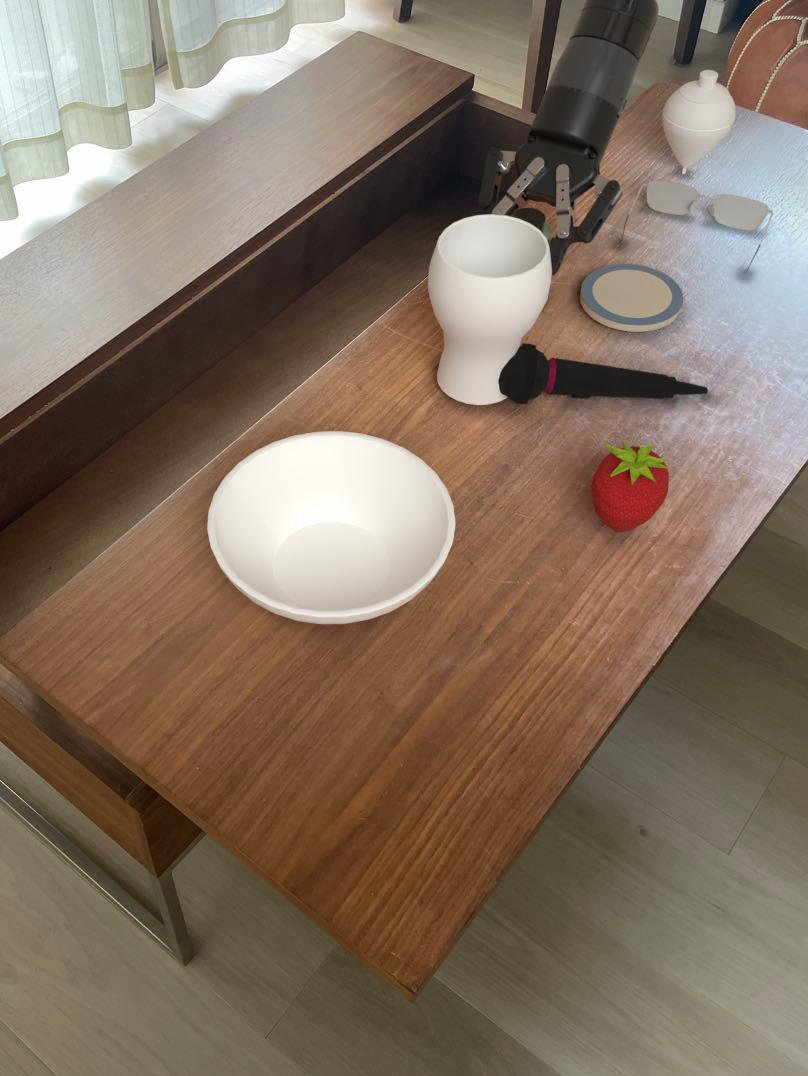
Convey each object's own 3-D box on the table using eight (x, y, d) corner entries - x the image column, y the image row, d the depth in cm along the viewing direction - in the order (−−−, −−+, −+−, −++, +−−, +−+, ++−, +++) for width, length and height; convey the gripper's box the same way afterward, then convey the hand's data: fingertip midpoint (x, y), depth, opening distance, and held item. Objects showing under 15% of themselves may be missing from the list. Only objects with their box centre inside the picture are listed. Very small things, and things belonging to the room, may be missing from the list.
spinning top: (666, 196, 124) (691, 95, 115) (638, 161, 129) (660, 62, 120) (730, 185, 125) (760, 84, 115) (699, 151, 130) (726, 51, 120)
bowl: (387, 706, 83) (390, 655, 78) (170, 612, 90) (159, 559, 84) (485, 531, 93) (493, 475, 88) (284, 459, 100) (281, 403, 95)
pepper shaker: (549, 301, 113) (564, 223, 106) (509, 315, 112) (520, 237, 105) (524, 275, 116) (537, 197, 108) (484, 288, 115) (494, 211, 107)
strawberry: (568, 546, 92) (587, 462, 84) (598, 487, 96) (620, 403, 88) (637, 571, 90) (664, 488, 82) (665, 510, 94) (693, 426, 86)
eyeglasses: (766, 234, 118) (776, 203, 115) (747, 280, 114) (758, 250, 111) (637, 206, 123) (644, 175, 120) (615, 249, 119) (621, 219, 116)
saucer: (684, 283, 114) (687, 271, 112) (674, 344, 108) (678, 331, 106) (586, 269, 116) (588, 257, 115) (571, 327, 110) (574, 315, 109)
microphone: (688, 406, 106) (484, 387, 106) (706, 350, 103) (495, 330, 103) (706, 431, 101) (492, 411, 101) (725, 373, 98) (504, 352, 98)
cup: (437, 424, 102) (448, 291, 90) (410, 351, 108) (417, 219, 97) (548, 407, 102) (573, 273, 91) (514, 336, 109) (533, 203, 98)
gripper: (506, 67, 105) (439, 238, 108) (651, 103, 99) (576, 282, 102) (524, 96, 112) (460, 255, 115) (660, 130, 106) (589, 298, 109)
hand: (515, 267), depth 109 cm, fingers open, 5 cm apart
